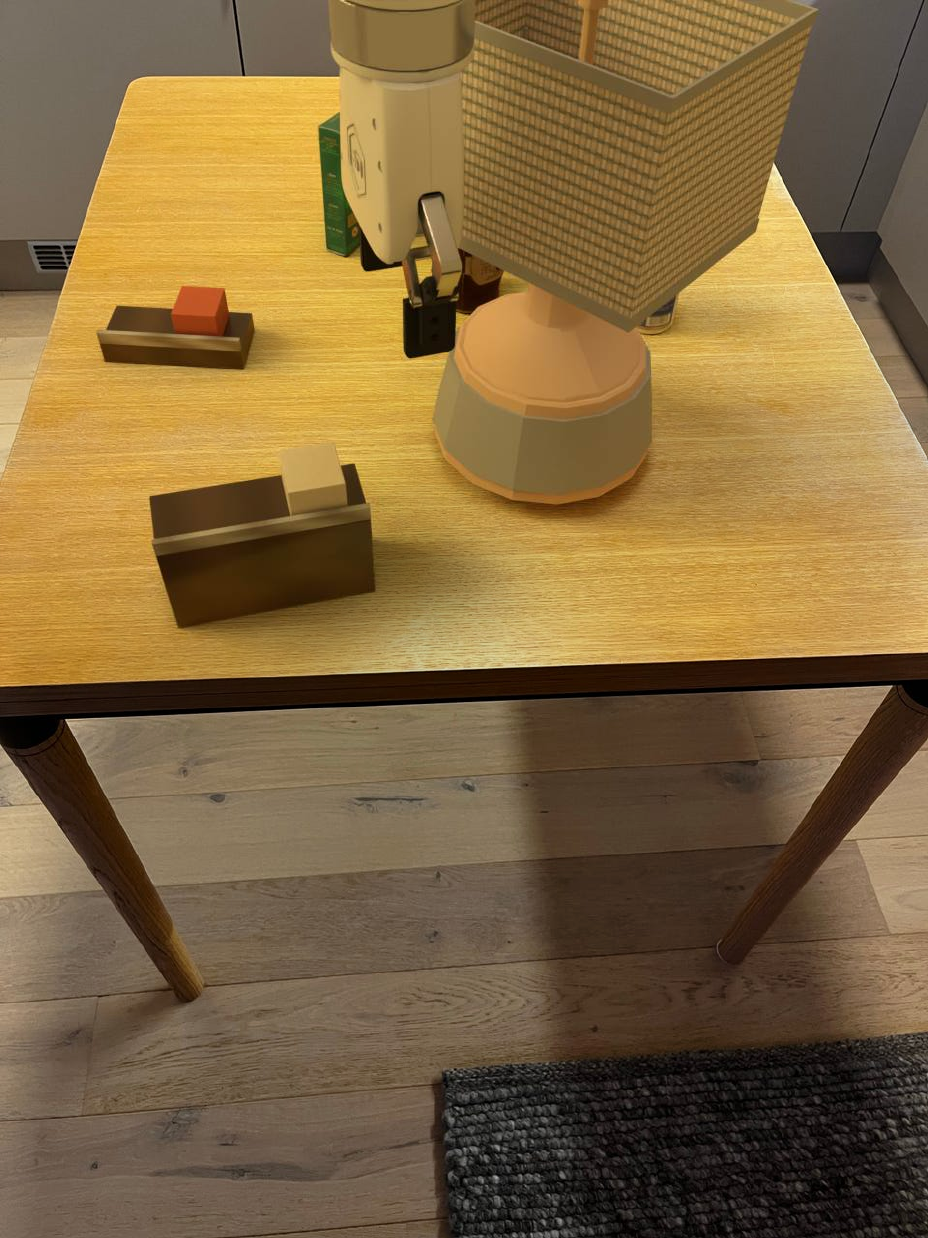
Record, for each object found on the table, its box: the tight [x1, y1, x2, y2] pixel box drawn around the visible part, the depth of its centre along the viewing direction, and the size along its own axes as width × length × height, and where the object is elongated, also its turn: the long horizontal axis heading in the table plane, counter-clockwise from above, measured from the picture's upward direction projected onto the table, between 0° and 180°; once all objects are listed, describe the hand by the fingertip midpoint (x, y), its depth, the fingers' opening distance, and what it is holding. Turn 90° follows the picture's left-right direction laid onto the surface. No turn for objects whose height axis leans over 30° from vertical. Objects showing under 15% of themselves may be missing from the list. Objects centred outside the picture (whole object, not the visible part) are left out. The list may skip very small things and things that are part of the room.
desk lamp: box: [432, 0, 819, 505], centre depth 74 cm, size 22×19×37 cm
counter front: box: [148, 462, 376, 628], centre depth 74 cm, size 15×6×9 cm, turn 105°
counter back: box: [95, 305, 256, 370], centre depth 94 cm, size 13×6×3 cm, turn 87°
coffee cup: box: [456, 248, 505, 314], centre depth 97 cm, size 9×8×13 cm
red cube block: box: [171, 285, 230, 337], centre depth 93 cm, size 4×4×3 cm
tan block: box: [277, 441, 348, 516], centre depth 71 cm, size 4×4×3 cm
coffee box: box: [317, 111, 360, 257], centre depth 103 cm, size 8×3×13 cm, turn 151°
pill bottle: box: [636, 292, 680, 335], centre depth 97 cm, size 5×5×9 cm
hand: (406, 307), depth 65 cm, fingers open, 9 cm apart
